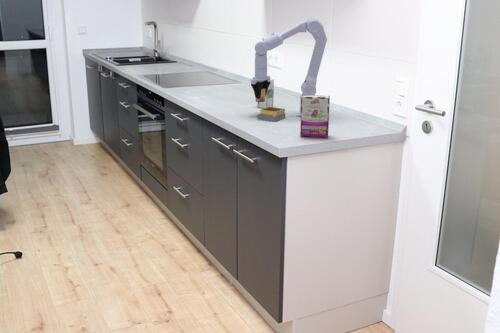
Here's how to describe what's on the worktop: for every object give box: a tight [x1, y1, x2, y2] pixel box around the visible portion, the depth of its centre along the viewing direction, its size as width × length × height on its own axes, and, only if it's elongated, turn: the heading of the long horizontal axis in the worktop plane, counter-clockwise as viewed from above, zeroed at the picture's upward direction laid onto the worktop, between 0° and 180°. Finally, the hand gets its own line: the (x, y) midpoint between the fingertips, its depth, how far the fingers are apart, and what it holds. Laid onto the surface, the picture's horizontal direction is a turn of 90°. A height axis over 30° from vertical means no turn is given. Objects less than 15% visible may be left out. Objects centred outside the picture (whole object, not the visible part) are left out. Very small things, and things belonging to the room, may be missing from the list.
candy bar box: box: [299, 94, 331, 139], centre depth 225 cm, size 11×5×16 cm, turn 80°
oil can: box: [255, 88, 265, 103], centre depth 262 cm, size 5×5×7 cm
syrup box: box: [257, 77, 275, 109], centre depth 280 cm, size 6×6×14 cm
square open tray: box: [257, 106, 287, 123], centre depth 257 cm, size 9×10×4 cm
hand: (260, 97), depth 262 cm, fingers closed on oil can, 5 cm apart
